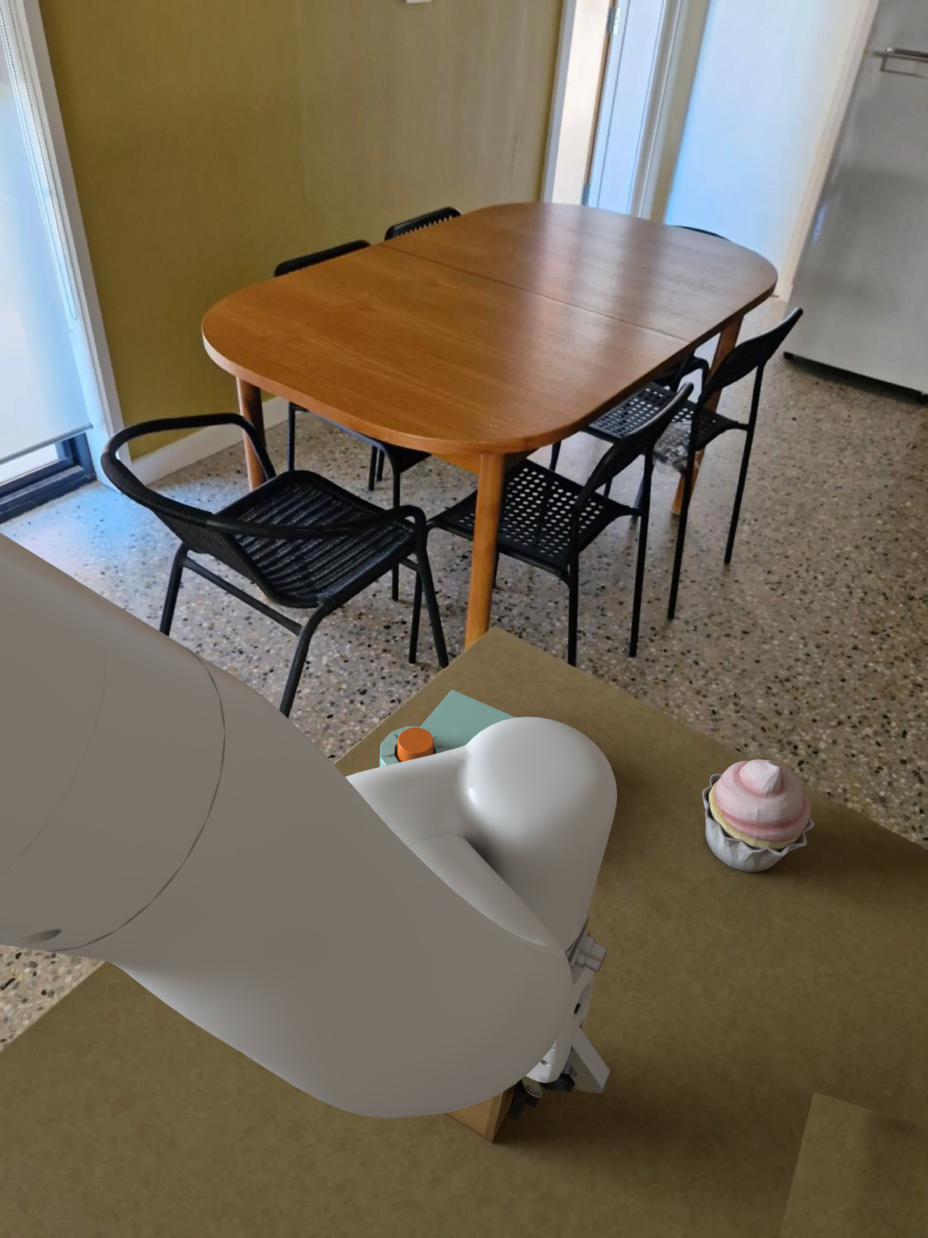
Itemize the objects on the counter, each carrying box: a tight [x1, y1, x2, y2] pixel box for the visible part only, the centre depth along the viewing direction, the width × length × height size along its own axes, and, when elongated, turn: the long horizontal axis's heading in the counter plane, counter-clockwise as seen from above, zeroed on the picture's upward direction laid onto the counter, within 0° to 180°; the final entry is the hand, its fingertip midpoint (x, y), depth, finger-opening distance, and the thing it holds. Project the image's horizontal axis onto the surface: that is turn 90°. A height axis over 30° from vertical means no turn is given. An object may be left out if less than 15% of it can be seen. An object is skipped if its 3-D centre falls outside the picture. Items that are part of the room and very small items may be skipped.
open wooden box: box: [443, 1083, 517, 1144], centre depth 57 cm, size 5×4×8 cm
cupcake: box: [701, 758, 815, 873], centre depth 74 cm, size 9×9×10 cm
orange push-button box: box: [379, 689, 517, 767], centre depth 78 cm, size 13×13×6 cm
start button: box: [397, 726, 434, 762], centre depth 75 cm, size 3×3×2 cm
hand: (482, 1071), depth 58 cm, fingers open, 5 cm apart
